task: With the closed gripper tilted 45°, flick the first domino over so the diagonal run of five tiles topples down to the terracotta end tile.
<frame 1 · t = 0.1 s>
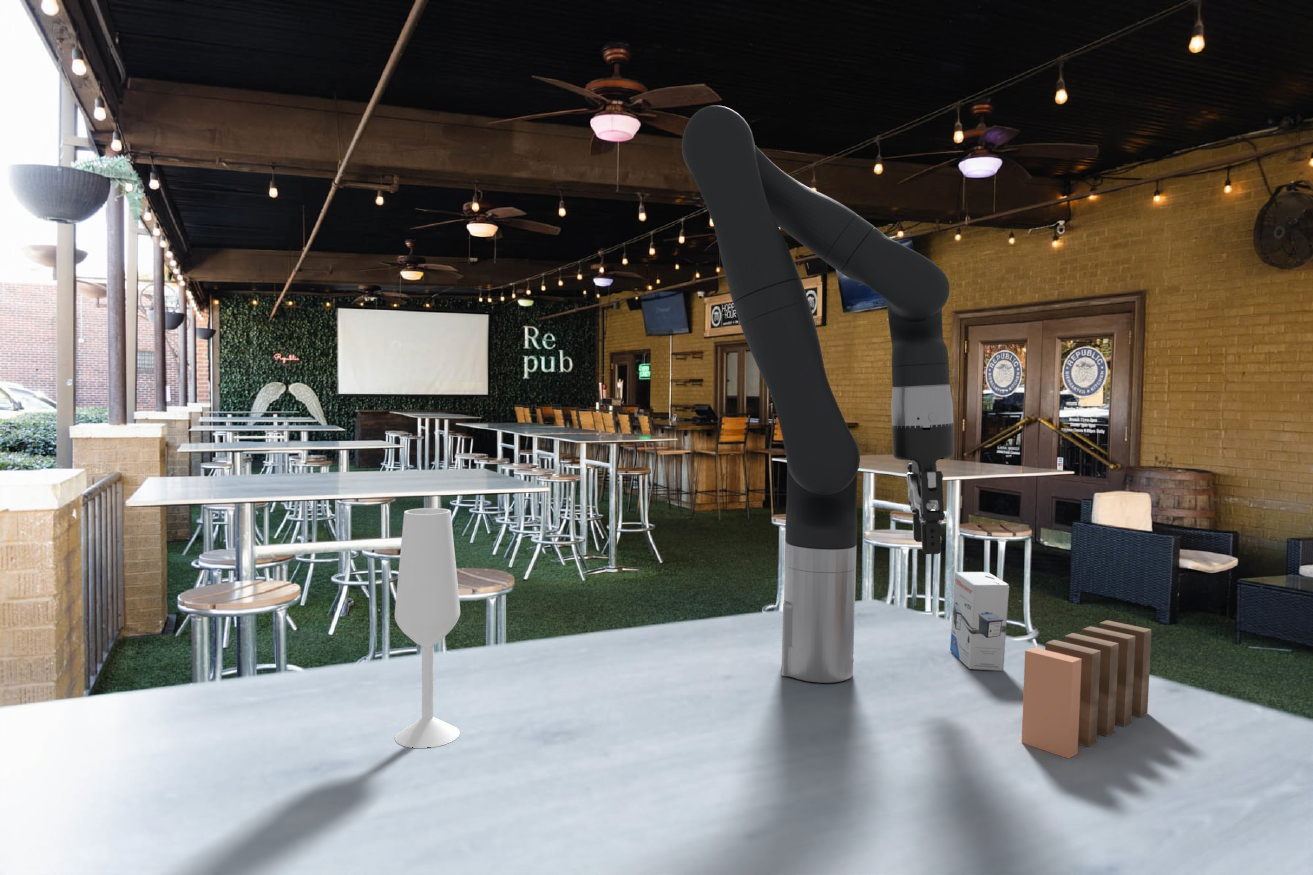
hand: (927, 547, 110), 17 cm above the table, tool pointing down, fingers open, 8 cm apart
tile 5: (1049, 747, 90), on the table
champagne flute: (427, 736, 91), on the table
tile 2: (1104, 717, 99), on the table
tile 3: (1087, 727, 96), on the table
tile 4: (1068, 737, 93), on the table
ink box: (977, 662, 119), on the table
tile 1: (1121, 708, 102), on the table
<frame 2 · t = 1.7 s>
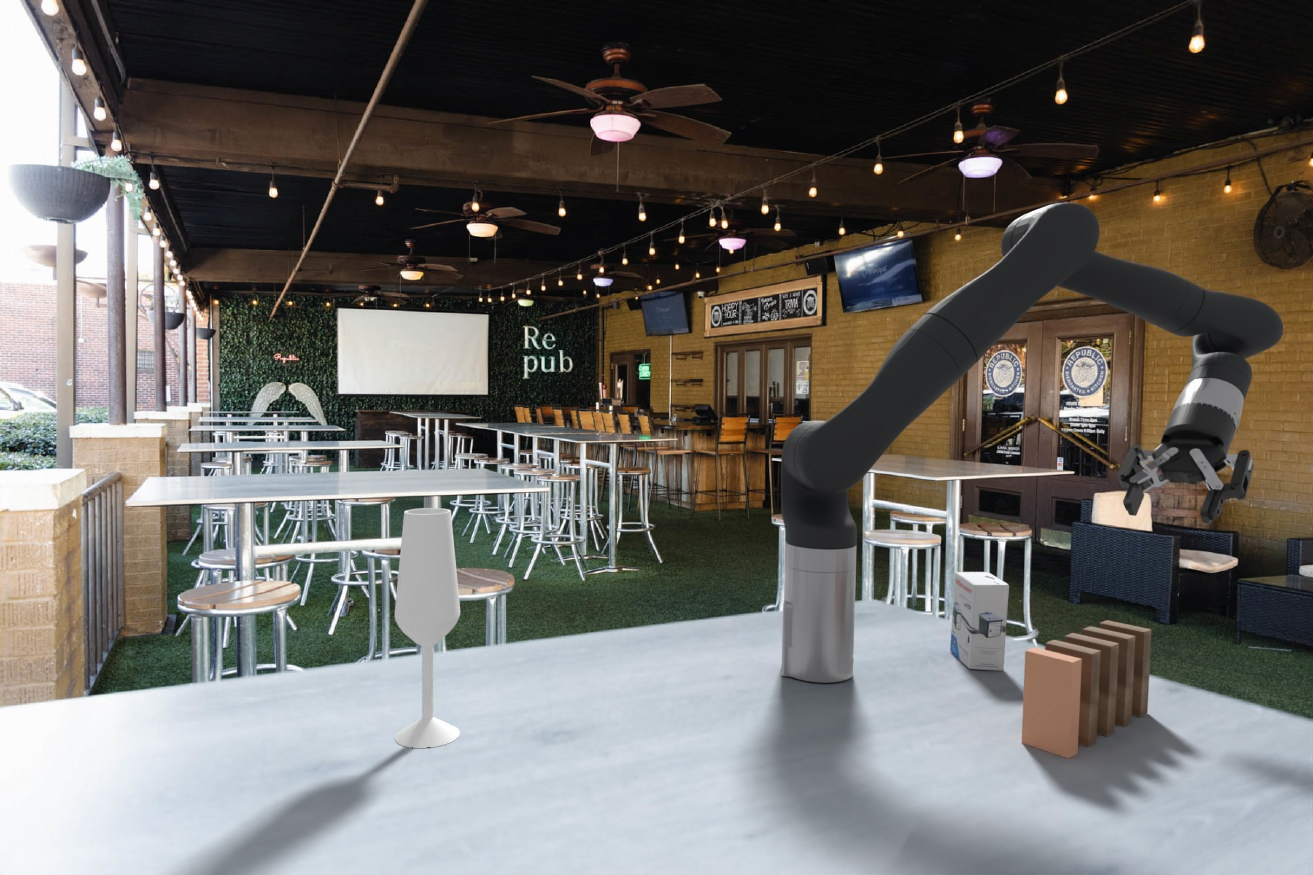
hand: (1166, 515, 107), 22 cm above the table, tool tilted 45°, fingers open, 8 cm apart
nothing on the table moved.
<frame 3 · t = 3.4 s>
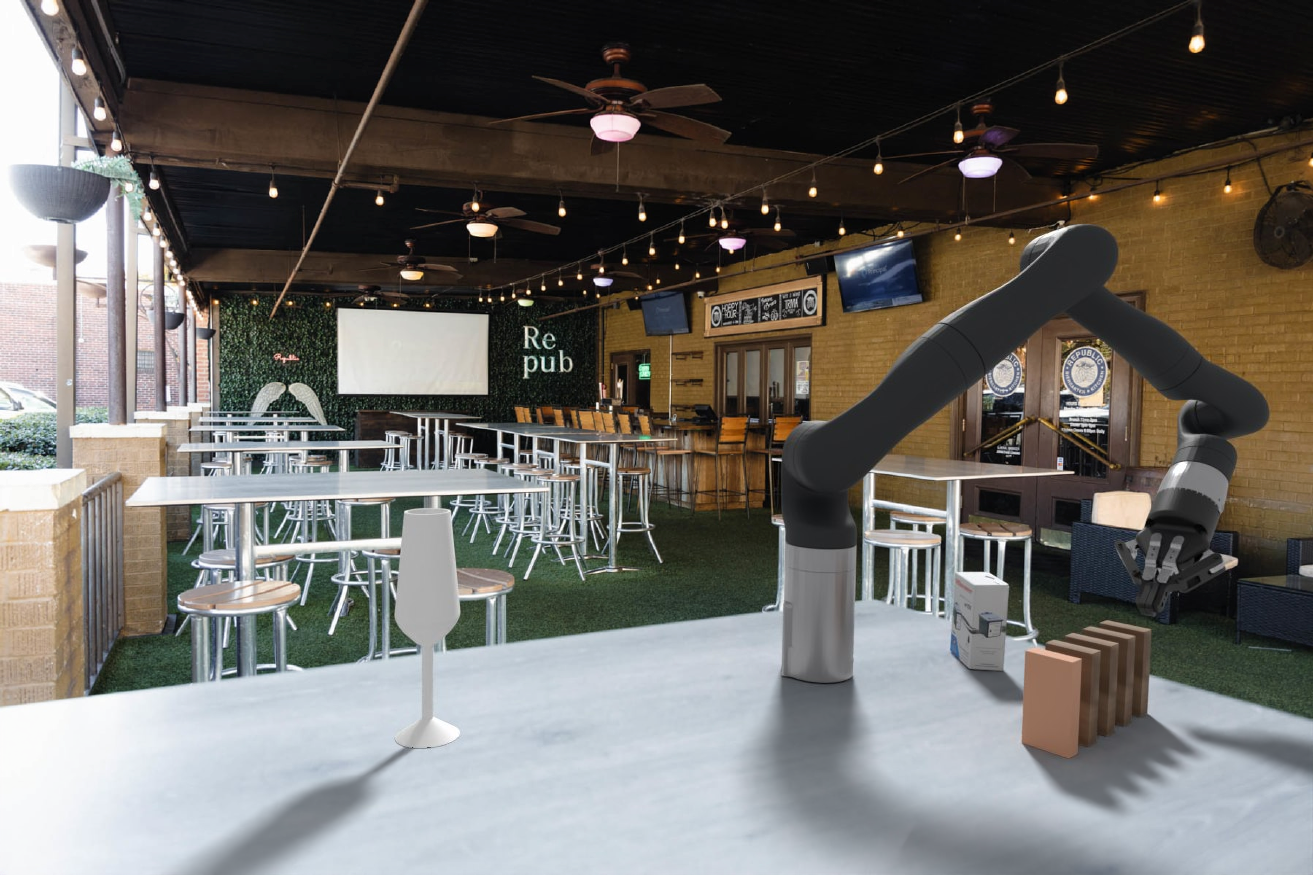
hand: (1146, 611, 105), 11 cm above the table, tool tilted 45°, fingers closed
nothing on the table moved.
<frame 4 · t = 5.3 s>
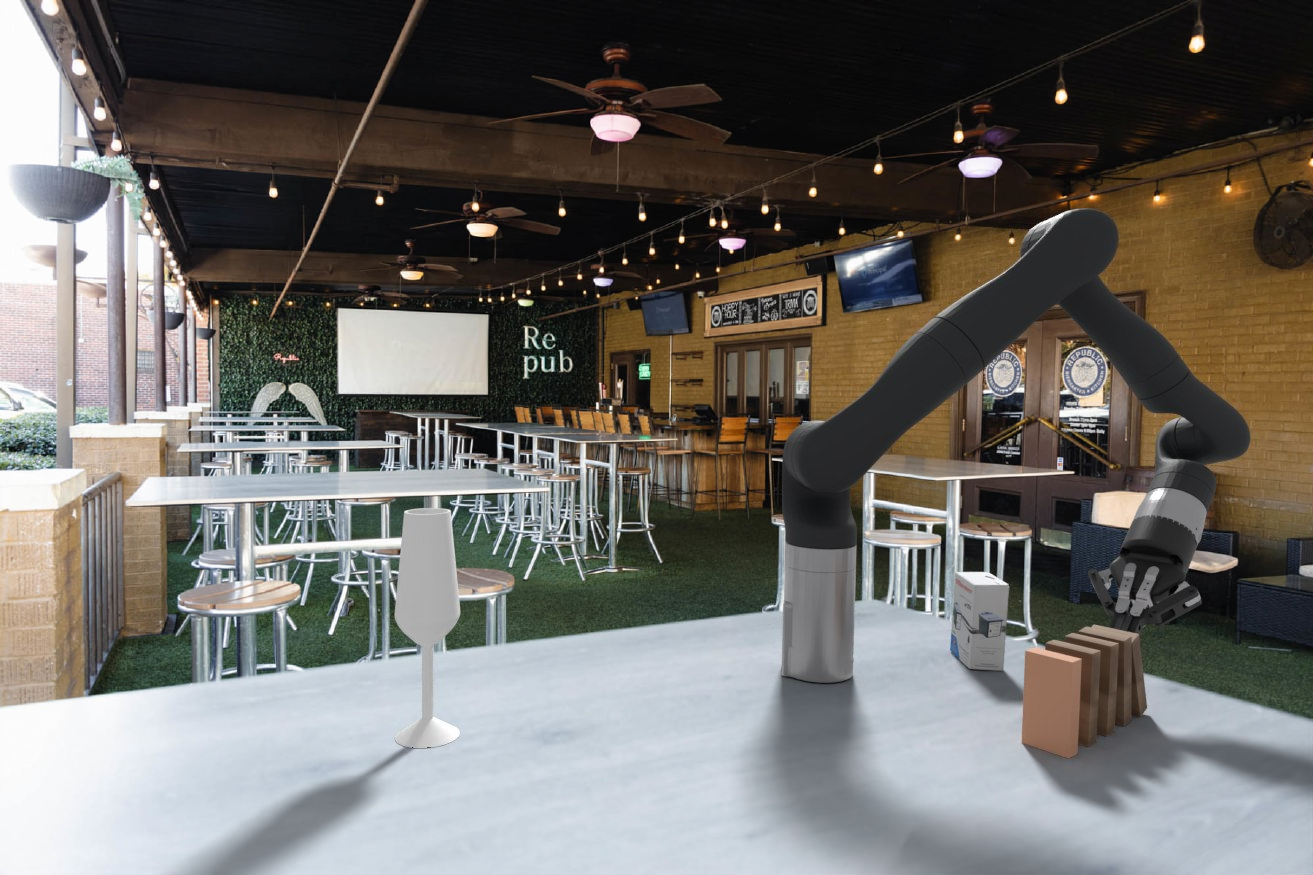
hand: (1118, 646, 101), 8 cm above the table, tool tilted 45°, fingers closed
tile 2: (1104, 716, 99), on the table, tilted 6°, touching tile 1
tile 1: (1121, 706, 102), on the table, tilted 20°, touching tile 2
everything else where it was.
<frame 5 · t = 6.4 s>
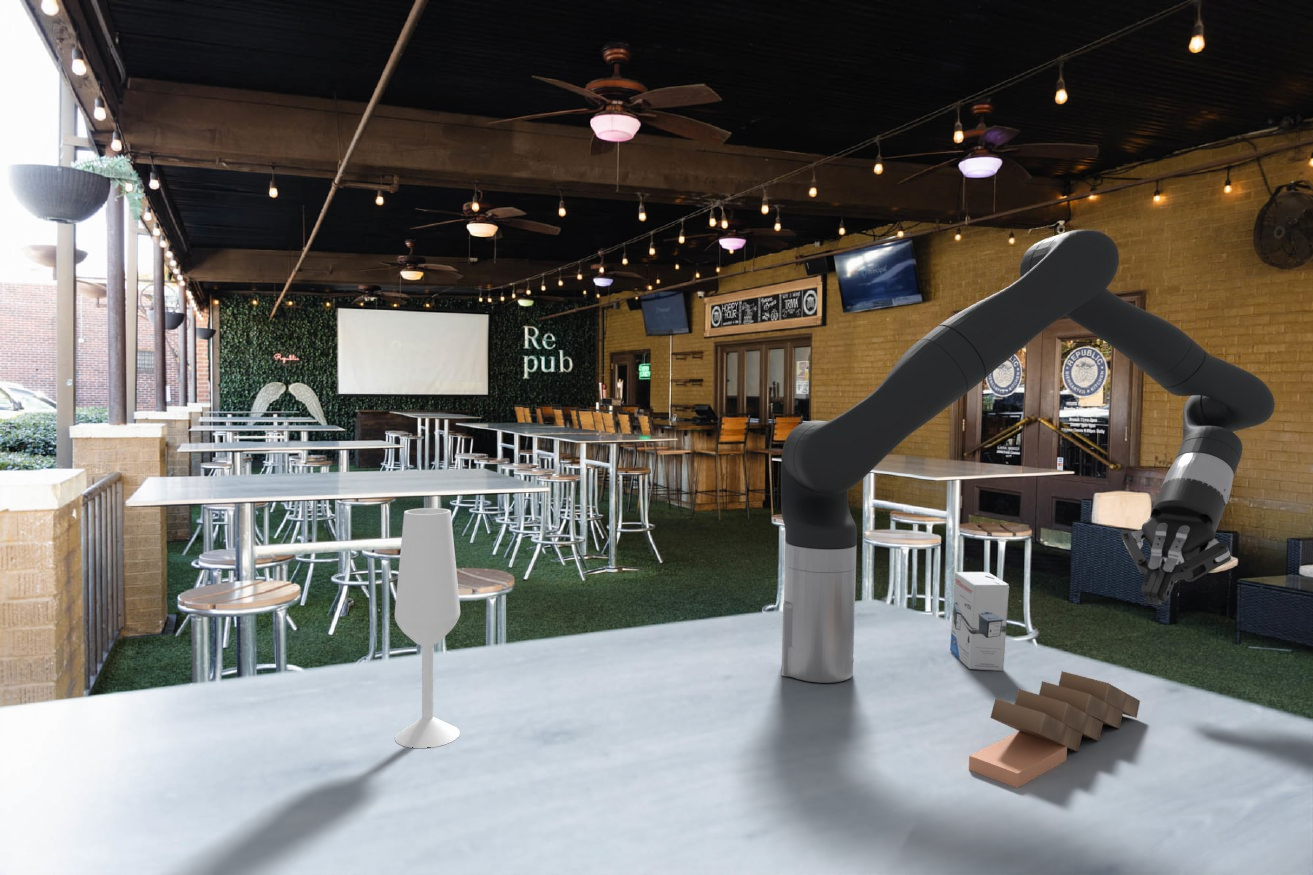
hand: (1152, 600, 106), 12 cm above the table, tool tilted 45°, fingers closed
tile 5: (1042, 747, 89), on the table, tilted 90°, touching tile 4
tile 2: (1098, 713, 98), point 1 cm above the table, tilted 66°, touching tile 1
tile 3: (1077, 724, 94), point 1 cm above the table, tilted 65°, touching tile 4
tile 4: (1056, 734, 91), point 1 cm above the table, tilted 65°, touching tile 3, tile 5
tile 1: (1115, 703, 101), point 1 cm above the table, tilted 66°, touching tile 2
everything else where it was.
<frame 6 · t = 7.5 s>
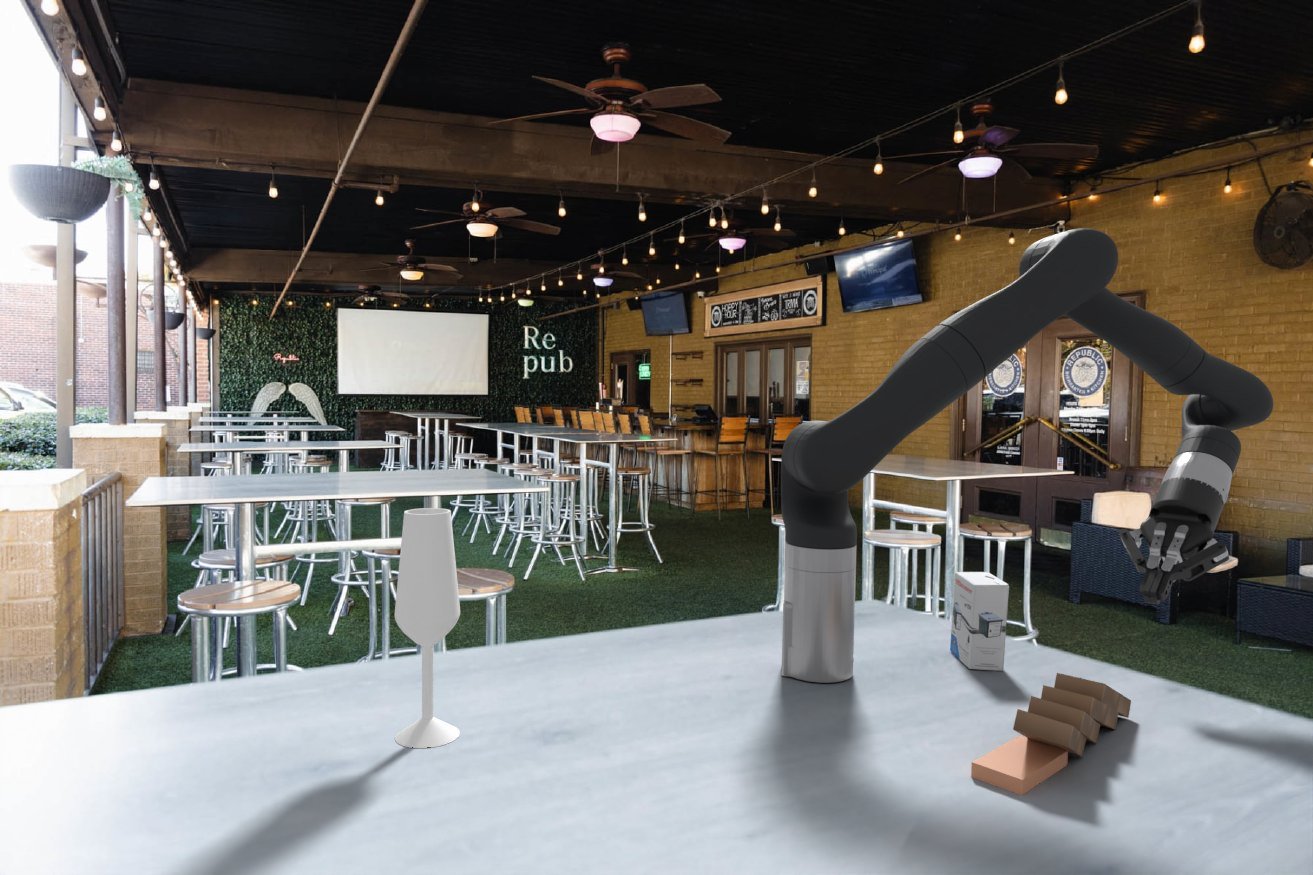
hand: (1150, 599, 106), 12 cm above the table, tool tilted 45°, fingers closed
tile 5: (1042, 752, 88), on the table, tilted 90°, touching tile 4
tile 3: (1073, 726, 93), point 1 cm above the table, tilted 65°, touching tile 4
tile 4: (1058, 738, 90), point 1 cm above the table, tilted 65°, touching tile 3, tile 5
tile 1: (1106, 703, 101), point 1 cm above the table, tilted 66°, touching tile 2
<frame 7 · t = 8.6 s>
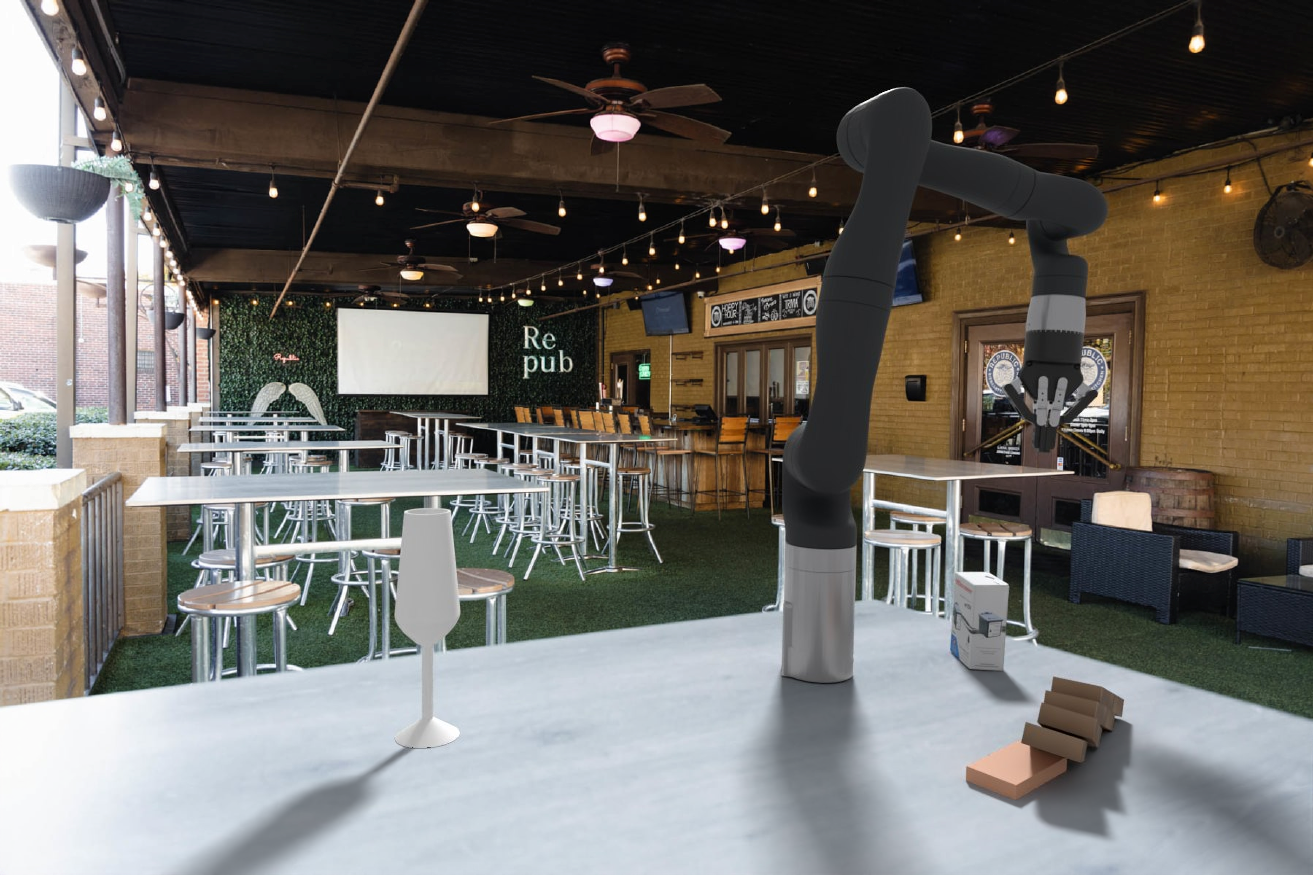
hand: (1042, 452, 122), 29 cm above the table, tool pointing down, fingers closed
tile 5: (1041, 757, 87), on the table, tilted 90°, touching tile 4
tile 2: (1089, 716, 97), point 1 cm above the table, tilted 67°, touching tile 1, tile 3
tile 3: (1074, 730, 92), point 1 cm above the table, tilted 65°, touching tile 2
tile 4: (1059, 743, 88), point 2 cm above the table, tilted 69°, touching tile 5
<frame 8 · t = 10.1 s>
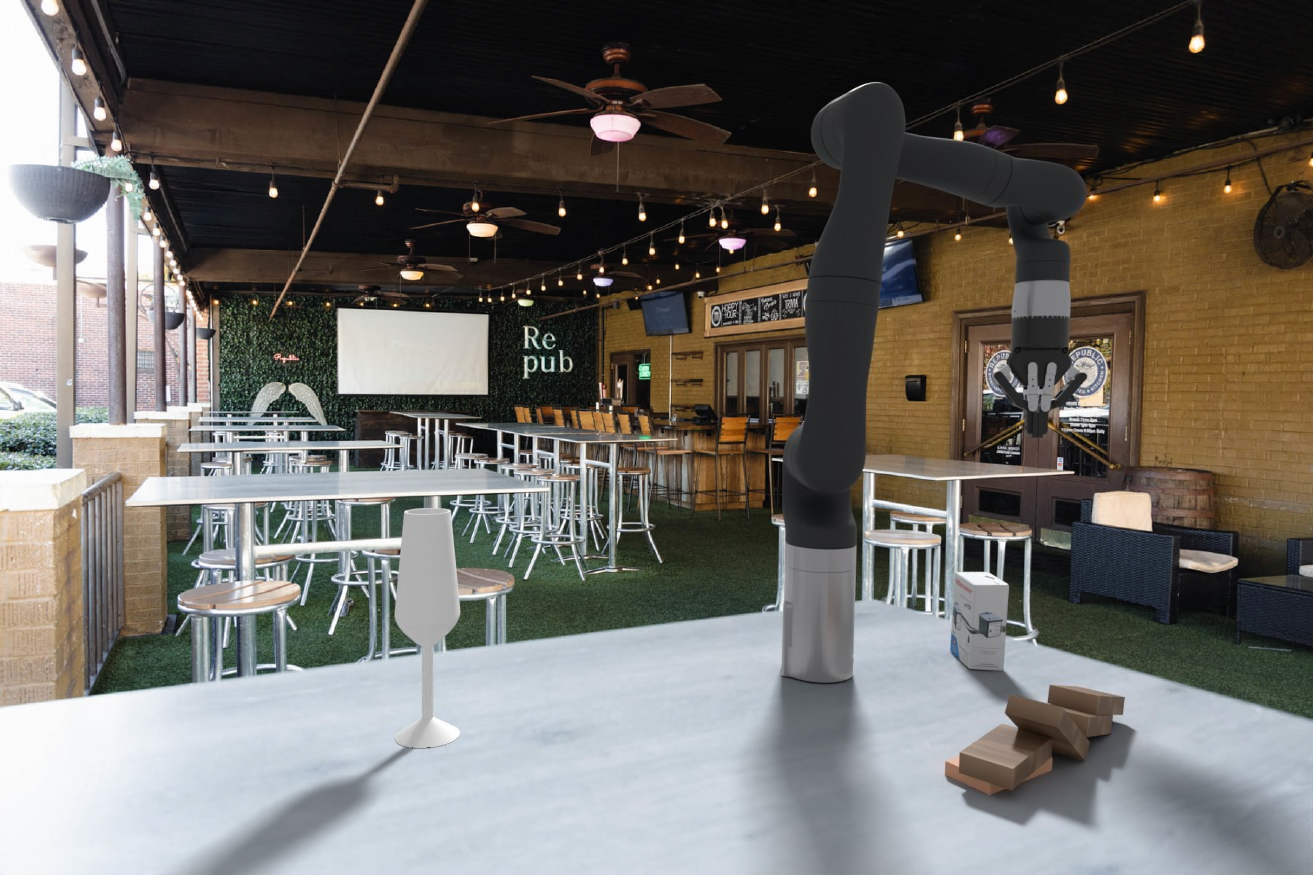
hand: (1035, 437, 122), 31 cm above the table, tool pointing down, fingers closed
tile 5: (1029, 757, 87), on the table, tilted 90°, touching tile 4
tile 2: (1087, 718, 96), point 1 cm above the table, tilted 75°, touching tile 1, tile 3
tile 3: (1062, 744, 89), point 1 cm above the table, tilted 55°, touching tile 2, tile 4
tile 4: (1026, 740, 87), point 2 cm above the table, tilted 90°, touching tile 3, tile 5
tile 1: (1100, 700, 100), point 2 cm above the table, tilted 75°, touching tile 2
everything else where it was.
at the end: tile 5 tilted 90°; tile 1 tilted 76°; ink box moved 0.2 cm from its start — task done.
